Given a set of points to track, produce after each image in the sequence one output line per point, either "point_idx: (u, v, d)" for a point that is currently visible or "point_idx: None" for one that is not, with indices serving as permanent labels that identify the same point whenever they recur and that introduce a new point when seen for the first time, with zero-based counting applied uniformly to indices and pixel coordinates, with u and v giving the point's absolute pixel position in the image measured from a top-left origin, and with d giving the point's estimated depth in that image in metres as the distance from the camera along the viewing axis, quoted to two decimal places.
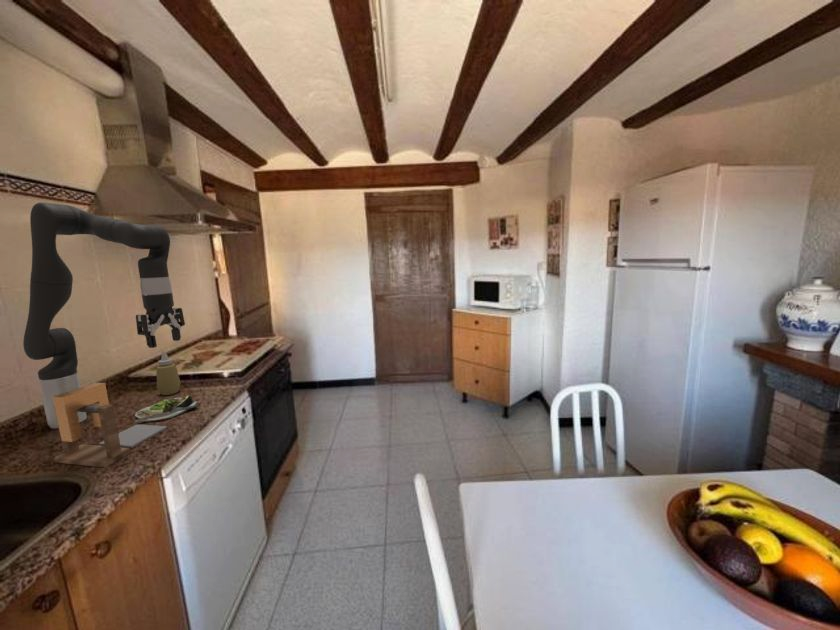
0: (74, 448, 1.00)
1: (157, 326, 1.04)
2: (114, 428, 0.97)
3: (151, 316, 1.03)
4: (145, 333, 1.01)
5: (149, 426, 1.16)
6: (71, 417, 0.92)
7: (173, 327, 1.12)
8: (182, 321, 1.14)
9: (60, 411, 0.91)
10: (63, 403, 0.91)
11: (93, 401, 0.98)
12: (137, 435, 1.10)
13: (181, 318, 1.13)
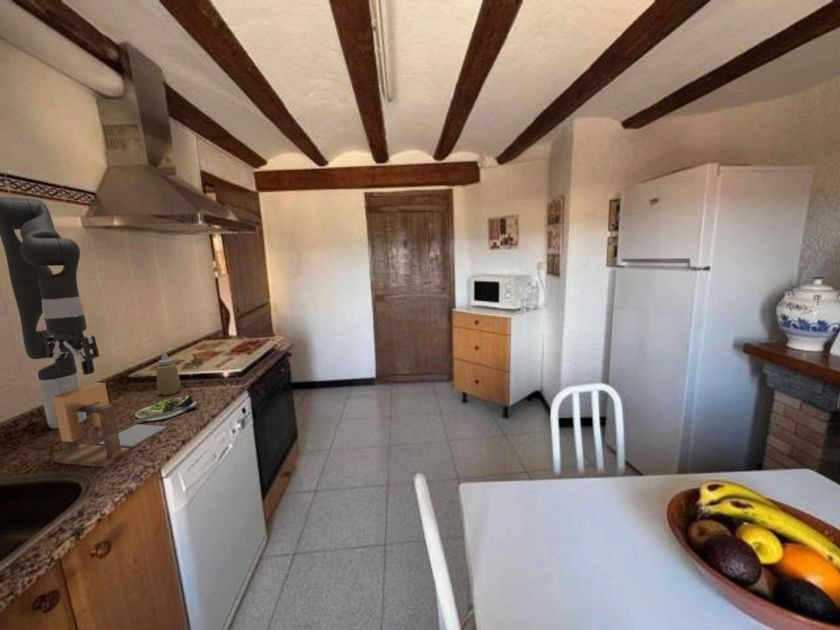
0: (74, 448, 1.00)
1: None
2: (114, 428, 0.97)
3: None
4: None
5: (149, 426, 1.16)
6: (71, 417, 0.92)
7: (59, 357, 0.95)
8: None
9: (60, 411, 0.91)
10: (63, 403, 0.91)
11: (93, 401, 0.98)
12: (137, 435, 1.10)
13: None
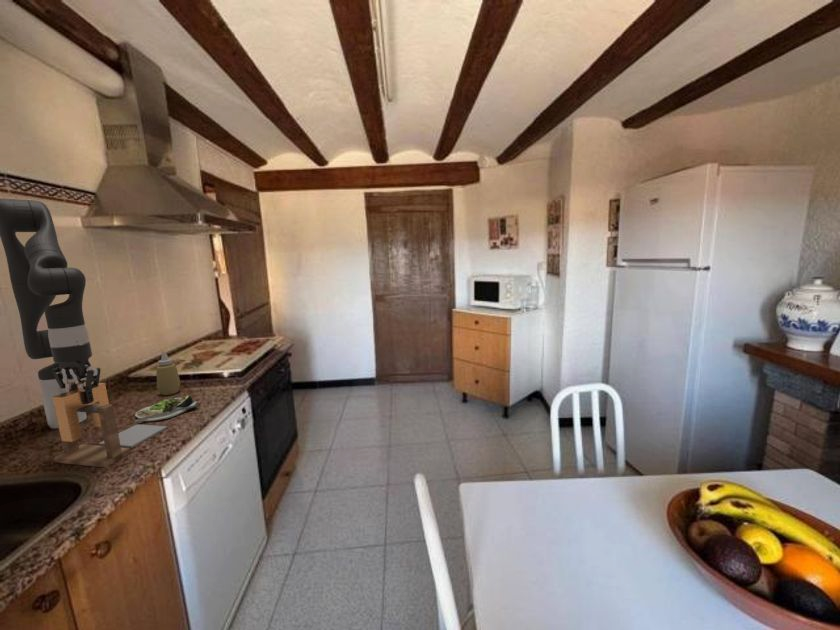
0: (74, 448, 1.00)
1: None
2: (114, 428, 0.97)
3: None
4: None
5: (149, 426, 1.16)
6: (71, 417, 0.92)
7: (72, 387, 0.96)
8: None
9: (60, 411, 0.91)
10: (63, 403, 0.91)
11: (93, 401, 0.98)
12: (137, 435, 1.10)
13: None
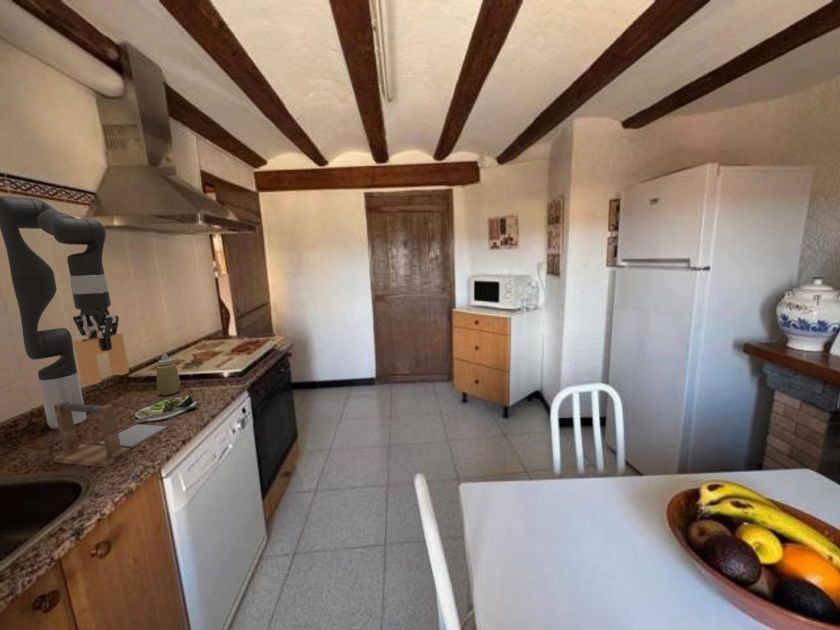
0: (74, 448, 1.00)
1: None
2: (114, 428, 0.97)
3: None
4: None
5: (149, 426, 1.16)
6: (91, 361, 0.97)
7: (92, 334, 1.01)
8: None
9: (81, 355, 0.96)
10: (83, 347, 0.96)
11: (111, 349, 1.02)
12: (137, 435, 1.10)
13: None
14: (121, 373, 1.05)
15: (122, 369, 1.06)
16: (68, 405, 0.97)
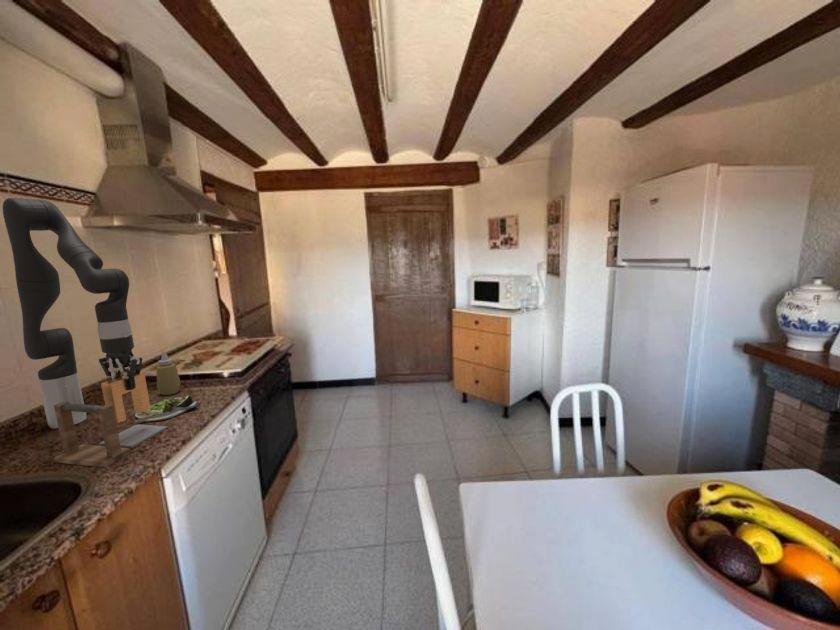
0: (74, 448, 1.00)
1: None
2: (114, 428, 0.97)
3: None
4: None
5: (149, 426, 1.16)
6: (117, 401, 1.04)
7: (116, 375, 1.07)
8: None
9: (108, 396, 1.03)
10: (110, 388, 1.02)
11: (135, 388, 1.09)
12: (137, 435, 1.10)
13: None
14: (143, 409, 1.12)
15: (144, 406, 1.12)
16: (68, 405, 0.97)
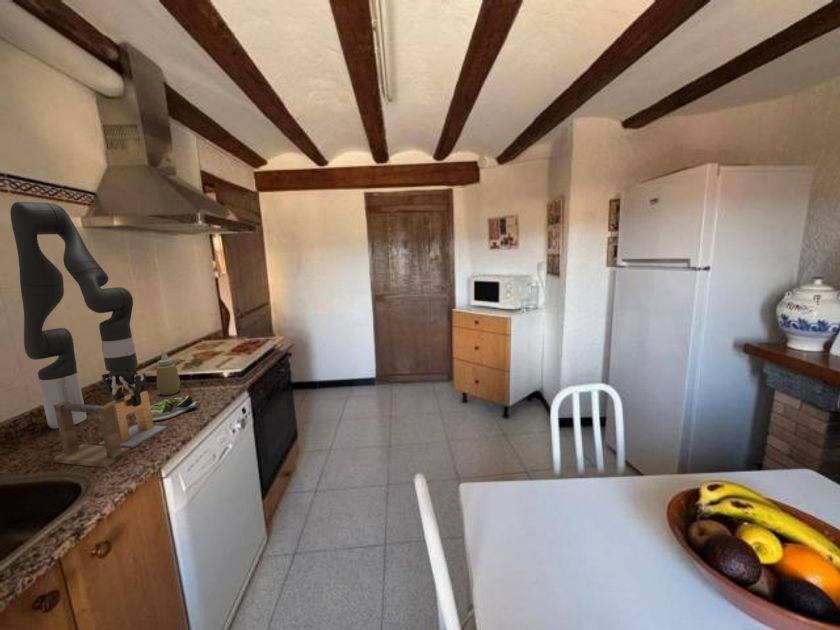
0: (74, 448, 1.00)
1: None
2: (114, 428, 0.97)
3: None
4: None
5: None
6: (121, 422, 1.05)
7: (117, 391, 1.09)
8: None
9: None
10: (115, 409, 1.04)
11: (138, 407, 1.10)
12: (137, 435, 1.10)
13: None
14: (147, 428, 1.13)
15: (148, 424, 1.14)
16: (68, 405, 0.97)
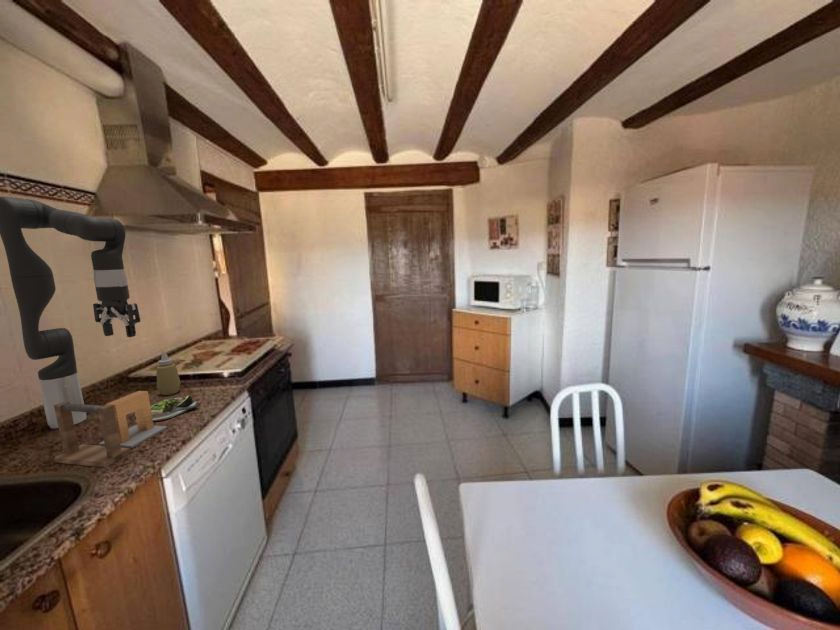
0: (74, 448, 1.00)
1: None
2: (114, 428, 0.97)
3: None
4: None
5: None
6: (121, 422, 1.05)
7: (106, 322, 1.09)
8: None
9: None
10: (115, 409, 1.04)
11: (138, 407, 1.10)
12: (137, 435, 1.10)
13: None
14: (147, 428, 1.13)
15: (148, 424, 1.14)
16: (68, 405, 0.97)
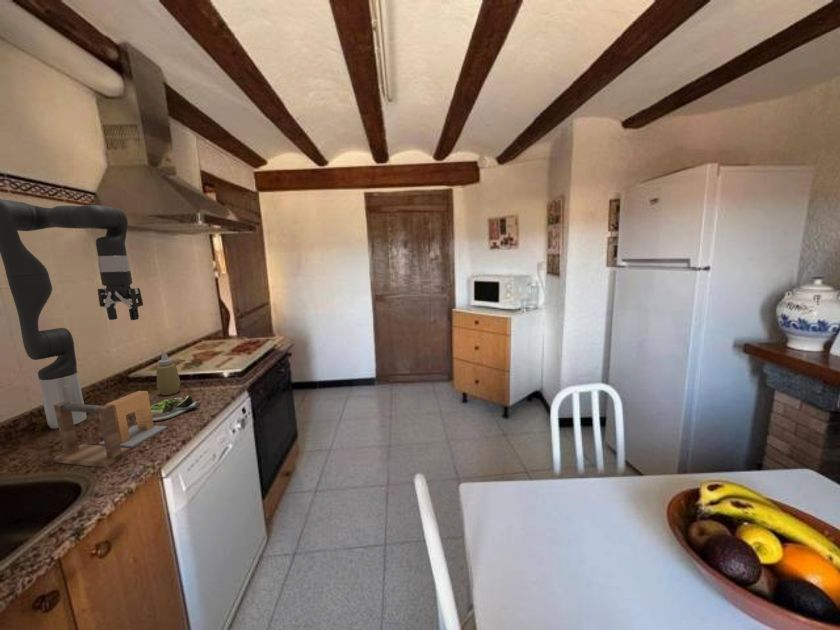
0: (74, 448, 1.00)
1: None
2: (114, 428, 0.97)
3: None
4: None
5: None
6: (121, 422, 1.05)
7: (110, 306, 1.15)
8: None
9: None
10: (115, 409, 1.04)
11: (138, 407, 1.10)
12: (137, 435, 1.10)
13: None
14: (147, 428, 1.13)
15: (148, 424, 1.14)
16: (68, 405, 0.97)
